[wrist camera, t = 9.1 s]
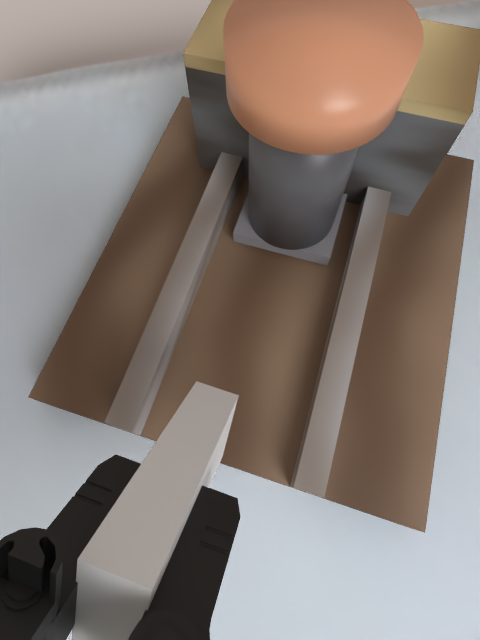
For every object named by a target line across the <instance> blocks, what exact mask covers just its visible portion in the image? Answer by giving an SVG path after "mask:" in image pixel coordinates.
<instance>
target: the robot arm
mask: <svg viewBox="0 0 480 640" xmlns="http://www.w3.org/2000/svg"><path fill="white" fill-rule="evenodd" d="M238 396H239V395H236V394H233V393H230V392H227V391H224V390H221V389H218V388H215V387H212V386H209V385H206V384H203V383H200V382H197V381H196V383H195V384H194V386H193V387H192V389H191V390H190V392H189V393H188V395H187V396H186V398H185V399H184V401H183V402H182V404H181V405H180V407H179V408H178V410H177V411H176V413H175V414H174V416H173V417H172V419H171V420H170V422H169V423H168V425H167V426H166V428H165V429H164V431H163V432H162V434H161V435H160V437H159V438H158V440H157V441H156V443H155V444H154V446H153V447H152V449H151V450H150V452H149V453H148V455H147V456H146V458H145V459H144V460H143V462H142V463H141V464H140V463H137V462H134V461H132V460H129V459H126V458H124V457H121V456H118V455H114V456H113V457H111V458H109V459H108V460H106V461H104V462H103V463H101V464H100V465H98V466H97V468H96V469H95V470H94V471H93V473H92V474H91V475H90V476H89V478H88V479H87V480H86V482H85V484H83V485H82V486H81V487H80V489H79V490H78V491H77V492H76V494H75V496H74V497H72V499H71V500H70V501H69V502H68V504H67V505H66V506H65V507H64V508H63V510H62V511H61V512H60V513H59V515H58V516H57V517H56V518H55V520H54V521H53V522H52V523H51V525H50V526H49V527H48V528H47V530H46V529H41V528H28V529H21V530H18V531H16V532H14V533H12V534H9V535H7V536H5V537H4V538H3V539H1V540H0V640H66V639H67V637H68V635H69V633H70V632H71V630H72V640H210V633H209V628H210V622H211V617H212V614H213V610H214V607H215V603H216V600H217V596H218V593H219V589H220V586H221V582H222V579H223V576H224V572H225V569H226V565H227V562H228V558H229V555H230V551H231V548H232V544H233V541H234V537H235V534H236V530H237V527H238V524H239V520H240V512H239V505H238V499H237V498H235V497H232V496H229V495H227V494H224V493H221V492H219V491H216V490H213V489H211V488H210V486H211V484H212V481H213V479H214V476H215V474H216V471H217V469H218V466H219V464H220V462H221V459H222V457H223V453H224V449H225V445H226V442H227V438H228V434H229V430H230V426H231V423H232V419H233V415H234V411H235V408H236V404H237V400H238ZM72 628H73V629H72Z"/></svg>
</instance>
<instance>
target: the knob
mask: <svg viewBox="0 0 480 640" xmlns="http://www.w3.org/2000/svg"><path fill="white" fill-rule="evenodd" d="M223 40H224V58H225V76H226V95H227V100H228V104H229V107H230V109H231V112H232V113H233V115H234V117H235V118H236V120H237V121H238V122H239V123H240V125H241V126H242V127H243V128H244V129H245V130H246V131H248V132H249V192H248V195H247V198H246V200H245V203H244V205H243V208H242V211H241V213H240V216H239V218H238V221H237V224H236V226H235V229H234V231H233V239H234V241H235V242H238V243H242V244H246V245H250V246H254V247H257V248H261V249H265V250H269V251H273V252H276V253H280V254H284V255H288V256H292V257H295V258H299V259H303V260H307V261H310V262H314V263H318V264H322V265H326V266H327V265H328V262H329V260H330V257H331V253H332V250H333V246H334V242H335V238H336V235H337V231H338V227H339V224H340V220H341V216H342V212H343V209H344V205H345V201H346V198H347V194H344V191H345V188H346V185H347V182H348V179H349V176H350V173H351V170H352V167H353V164H354V161H355V158H356V155H357V152H358V149H359V147H360V146H362V145H364V144H366V143H368V142H370V141H371V140H373V139H374V138H376V137H377V136H379V135H380V134H381V133H382V132H383V131H384V130H385V129H386V128H387V127H388V125H389V124H390V123H391V122H392V120H393V118H394V116H395V114H396V112H397V110H398V107H399V105H400V102H401V100H402V97H403V95H404V93H405V90H406V88H407V85H408V83H409V80H410V78H411V75H412V73H413V71H414V68H415V66H416V63H417V61H418V58H419V56H420V53H421V50H422V47H423V40H424V35H423V27H422V24H421V20H420V18H419V16H418V14H417V12H416V11H415V10H414V8H413V7H412V5H411V4H410V3H409V2H408V1H407V0H235V1H234V2H233V3H232V5H231V6H230V8H229V10H228V12H227V14H226V17H225V20H224V25H223Z"/></svg>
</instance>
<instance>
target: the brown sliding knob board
mask: <svg viewBox="0 0 480 640" xmlns="http://www.w3.org/2000/svg"><path fill="white" fill-rule="evenodd" d="M234 1H235V0H212V1H211V3H210V4H209V6H208V8H207V10H206V12H205V14H204V15H203V17H202V19H201V21H200V23H199V25H198V27H197V28H196V30H195V32H194V34H193V36H192V38H191V39H190V42H189V43H188V45H187V47H186V49H185V50H184V52H183V56H184V62H185V69H186V76H187V82H188V89H189V95H190V98H187V97H182V99H181V101H180V103H179V105H178V107H177V109H176V111H175V113H174V114H173V116H172V118H171V120H170V122H169V124H168V126H167V128H166V130H165V132H164V134H163V136H162V138H161V140H160V142H159V144H158V146H157V148H156V150H155V151H154V153H153V155H152V157H151V159H150V161H149V163H148V165H147V167H146V169H145V171H144V173H143V175H142V177H141V179H140V181H139V183H138V185H137V187H136V188H135V190H134V192H133V194H132V196H131V198H130V200H129V202H128V204H127V206H126V208H125V210H124V212H123V214H122V216H121V218H120V220H119V222H118V224H117V225H116V227H115V229H114V231H113V233H112V235H111V237H110V239H109V241H108V243H107V245H106V247H105V249H104V251H103V253H102V255H101V257H100V259H99V260H98V262H97V264H96V266H95V268H94V270H93V272H92V274H91V276H90V278H89V280H88V282H87V284H86V286H85V288H84V290H83V292H82V294H81V296H80V297H79V299H78V301H77V303H76V305H75V307H74V309H73V311H72V313H71V315H70V317H69V319H68V321H67V323H66V325H65V327H64V329H63V331H62V333H61V334H60V336H59V338H58V340H57V342H56V344H55V346H54V348H53V350H52V352H51V354H50V356H49V358H48V360H47V362H46V364H45V366H44V368H43V370H42V371H41V373H40V375H39V377H38V379H37V381H36V383H35V385H34V387H33V389H32V391H31V393H30V395H29V398H32V399H35V400H37V401H40V402H43V403H46V404H49V405H52V406H55V407H58V408H61V409H63V410H66V411H69V412H72V413H75V414H78V415H81V416H84V417H87V418H90V419H93V420H96V421H99V422H102V423H104V424H107V425H110V426H113V427H116V428H119V429H122V430H125V431H128V432H131V433H134V434H137V435H140V436H143V437H145V438H148V439H151V440H154V441H157V440H158V438H159V437H160V435H161V434H162V432H163V431H164V429H165V428H166V426H167V425H168V423H169V422H170V420H171V419H172V417H173V416H174V414H175V413H176V411H177V410H178V408H179V407H180V405H181V404H182V402H183V401H184V399H185V398H186V396H187V395H188V393H189V392H190V390H191V389H192V387H193V386H194V384H195V383H196V381H197V382H200V383H203V384H206V385H209V386H212V387H215V388H218V389H221V390H224V391H227V392H230V393H233V394H236V395H239V396H238V400H237V404H236V408H235V411H234V415H233V419H232V423H231V426H230V430H229V434H228V438H227V442H226V445H225V449H224V453H223V457H222V459H221V462H220V463H222V464H225V465H228V466H230V467H233V468H236V469H239V470H242V471H245V472H248V473H251V474H254V475H257V476H260V477H263V478H266V479H269V480H271V481H274V482H277V483H280V484H283V485H286V486H289V487H292V488H295V489H298V490H301V491H304V492H307V493H310V494H312V495H315V496H318V497H321V498H324V499H327V500H330V501H333V502H336V503H339V504H342V505H345V506H348V507H351V508H353V509H356V510H359V511H362V512H365V513H368V514H371V515H374V516H377V517H380V518H383V519H386V520H389V521H392V522H394V523H397V524H400V525H403V526H406V527H409V528H412V529H415V530H418V531H422V532H425V529H426V521H427V514H428V506H429V498H430V491H431V483H432V475H433V468H434V460H435V453H436V445H437V437H438V430H439V422H440V414H441V407H442V399H443V392H444V384H445V376H446V369H447V361H448V353H449V346H450V338H451V331H452V323H453V315H454V308H455V300H456V292H457V285H458V277H459V270H460V262H461V254H462V247H463V239H464V231H465V224H466V216H467V209H468V201H469V193H470V186H471V178H472V170H473V163H474V160H471V159H466V158H461V157H457V156H452V155H448V154H447V153H448V151H449V149H450V148H451V146H452V145H453V143H454V141H455V140H456V138H457V137H458V135H459V133H460V132H461V130H462V128H463V127H464V125H465V124H466V122H467V120H468V119H469V117H470V116H471V114H472V112H473V106H474V99H475V92H476V85H477V78H478V71H479V64H480V29H474V28H469V27H463V26H457V25H452V24H446V23H440V22H435V21H429V20H423V19H420V20H421V24H422V27H423V35H424V40H423V47H422V50H421V53H420V56H419V58H418V61H417V63H416V66H415V68H414V71H413V73H412V75H411V78H410V80H409V83H408V85H407V88H406V90H405V93H404V95H403V97H402V100H401V102H400V105H399V107H398V110H397V112H396V114H395V116H394V118H393V120H392V122H391V123H390V124H389V125H388V127H387V128H386V129H385V130H384V131H383V132H382V133H381V134H380V135H379V136H377V137H376V138H374V139H373V140H371V141H370V142H368V143H366V144H364V145H362V146H360V147H359V149H358V152H357V155H356V158H355V161H354V164H353V167H352V170H351V173H350V176H349V179H348V182H347V185H346V188H345V191H344V194H347V198H346V201H345V205H344V209H343V212H342V216H341V220H340V224H339V227H338V231H337V235H336V238H335V242H334V246H333V250H332V253H331V257H330V260H329V262H328V265H327V266H326V265H322V264H318V263H314V262H310V261H307V260H303V259H299V258H295V257H292V256H288V255H284V254H280V253H276V252H273V251H269V250H265V249H261V248H257V247H254V246H250V245H246V244H242V243H238V242H235V241H234V239H233V231H234V229H235V226H236V224H237V221H238V218H239V216H240V213H241V211H242V208H243V205H244V203H245V200H246V198H247V195H248V192H249V132H248V131H246V130H245V129H244V128H243V127H242V126H241V125H240V123H239V122H238V121H237V120H236V118H235V117H234V115H233V113H232V112H231V109H230V107H229V104H228V100H227V95H226V76H225V58H224V40H223V25H224V20H225V17H226V14H227V12H228V10H229V8H230V6H231V5H232V3H233V2H234Z"/></svg>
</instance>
